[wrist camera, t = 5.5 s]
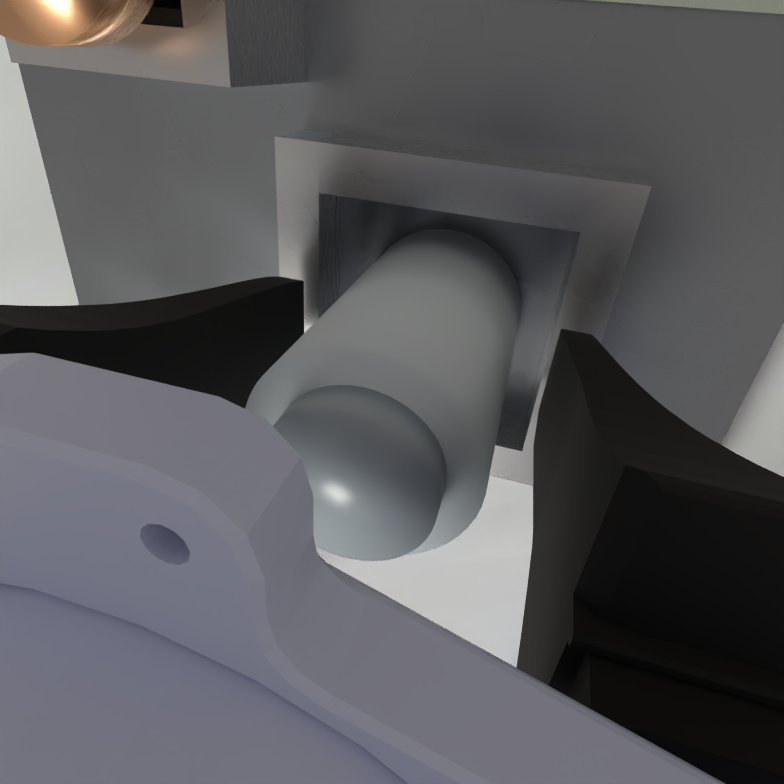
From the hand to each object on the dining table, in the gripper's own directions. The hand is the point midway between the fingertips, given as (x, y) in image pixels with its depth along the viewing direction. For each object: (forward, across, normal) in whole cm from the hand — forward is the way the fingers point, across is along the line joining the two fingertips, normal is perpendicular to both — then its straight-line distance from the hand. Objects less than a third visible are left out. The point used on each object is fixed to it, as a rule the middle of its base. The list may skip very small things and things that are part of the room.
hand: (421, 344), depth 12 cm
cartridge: (+2, 0, 0) cm, 2 cm away
